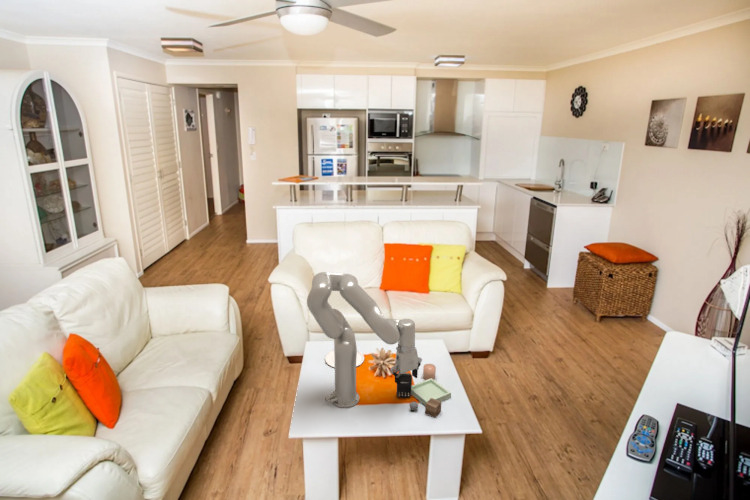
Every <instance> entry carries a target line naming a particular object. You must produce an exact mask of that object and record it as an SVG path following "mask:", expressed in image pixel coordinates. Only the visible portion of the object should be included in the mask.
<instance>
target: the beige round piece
mask: <svg viewBox="0 0 750 500" xmlns="http://www.w3.org/2000/svg"><path fill="white" fill-rule="evenodd" d="M422 367H423V368H422V370H423V371H422V378H423V381H425V380H428V379H431V378H432V379H433V380H434V381H436V372H437V369H436V368H437V367H436V365H435V364H433V363H425V364H423V366H422Z"/></svg>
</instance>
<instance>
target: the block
mask: <svg viewBox="0 0 750 500" xmlns="http://www.w3.org/2000/svg"><path fill="white" fill-rule="evenodd" d="M442 402H443V401H441V402H440V401H438V400H435V399H433V398H431V399H430V400H429V401H428V402H427V403H426V406H425V408H424V409H425V410H424V413H425V415H428V416H431V417H433V418H436V417H437V416H439V415H440V413H441V412H442V404H443V403H442Z"/></svg>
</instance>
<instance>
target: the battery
mask: <svg viewBox="0 0 750 500" xmlns="http://www.w3.org/2000/svg"><path fill="white" fill-rule="evenodd" d="M399 377H400V385H398V384H397V383H396V396H397V398H401V399H403V398H407V399H409V398H411V397H412V394H411V387H412V385H413V376H412V373H409V372H406V373H403V374H400V376H399Z"/></svg>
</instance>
